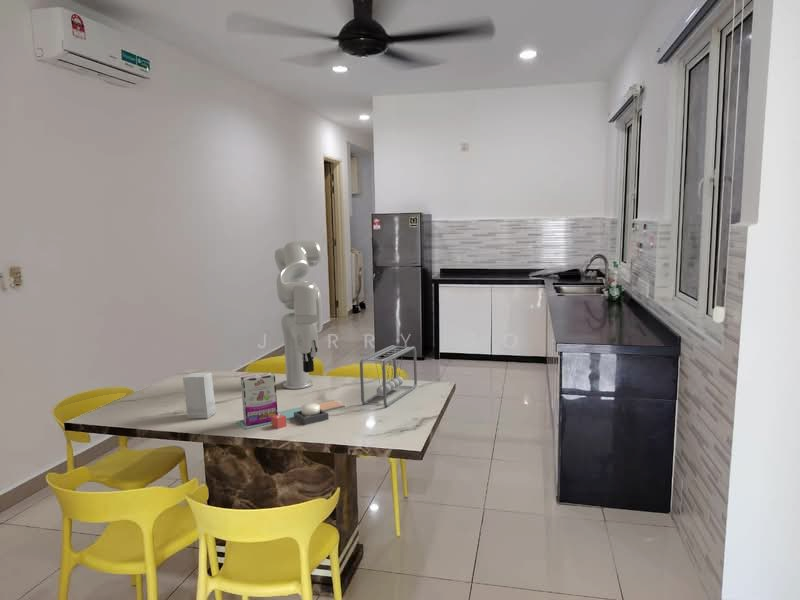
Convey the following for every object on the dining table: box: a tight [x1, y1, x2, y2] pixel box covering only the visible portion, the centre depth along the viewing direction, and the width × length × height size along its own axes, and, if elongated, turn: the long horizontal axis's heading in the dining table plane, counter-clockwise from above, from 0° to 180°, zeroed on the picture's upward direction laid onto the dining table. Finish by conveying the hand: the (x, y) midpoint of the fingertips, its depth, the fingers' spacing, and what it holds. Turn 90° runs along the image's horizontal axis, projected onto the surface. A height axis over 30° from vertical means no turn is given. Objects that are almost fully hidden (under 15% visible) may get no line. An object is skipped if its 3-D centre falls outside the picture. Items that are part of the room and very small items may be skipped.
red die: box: [270, 414, 287, 430], centre depth 191 cm, size 4×4×4 cm
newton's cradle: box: [359, 344, 418, 408], centre depth 222 cm, size 30×10×18 cm, turn 155°
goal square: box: [319, 400, 345, 411], centre depth 211 cm, size 8×12×1 cm, turn 125°
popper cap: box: [300, 403, 320, 417], centre depth 198 cm, size 6×6×2 cm
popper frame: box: [294, 409, 329, 426], centre depth 198 cm, size 9×9×2 cm
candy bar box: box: [240, 372, 279, 427], centre depth 196 cm, size 11×5×16 cm, turn 117°
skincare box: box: [182, 372, 217, 419], centre depth 204 cm, size 8×7×16 cm
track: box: [235, 399, 346, 430], centre depth 204 cm, size 10×38×1 cm, turn 125°
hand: (308, 371), depth 196 cm, fingers closed
